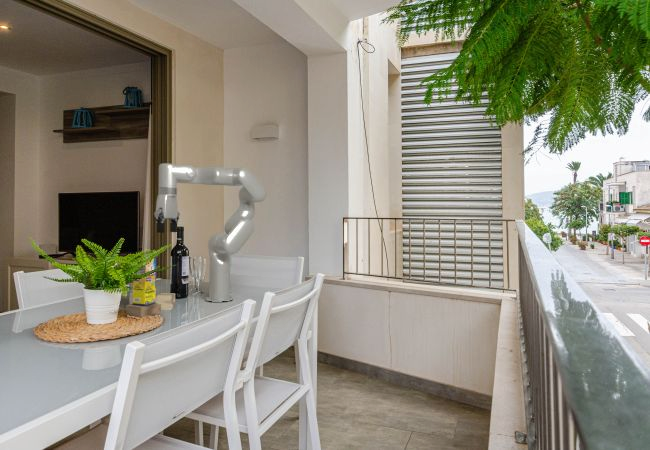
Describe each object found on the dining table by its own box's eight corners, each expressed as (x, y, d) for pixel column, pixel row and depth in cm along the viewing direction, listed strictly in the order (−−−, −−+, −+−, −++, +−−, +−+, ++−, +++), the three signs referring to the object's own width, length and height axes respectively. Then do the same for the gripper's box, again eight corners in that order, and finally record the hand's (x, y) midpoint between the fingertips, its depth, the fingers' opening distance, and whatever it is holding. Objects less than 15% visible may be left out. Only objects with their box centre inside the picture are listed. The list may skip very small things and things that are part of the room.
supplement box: (144, 306, 167) (145, 277, 167) (132, 305, 169) (132, 276, 169) (155, 303, 173) (155, 275, 173) (143, 302, 175) (143, 275, 175)
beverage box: (129, 309, 184) (129, 256, 184) (140, 304, 195) (141, 254, 195) (145, 309, 184) (145, 257, 184) (155, 304, 195) (156, 254, 195)
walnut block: (145, 313, 177) (145, 301, 177) (160, 316, 173) (160, 304, 173) (125, 317, 169) (125, 305, 169) (140, 321, 165) (141, 307, 165)
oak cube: (160, 307, 190) (161, 293, 190) (174, 307, 190) (175, 293, 190) (156, 309, 184) (156, 295, 184) (170, 310, 184) (170, 295, 184)
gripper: (171, 193, 198) (170, 231, 198) (147, 191, 181) (147, 232, 181) (186, 193, 196) (185, 232, 196) (163, 191, 179) (163, 233, 180)
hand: (167, 232), depth 189 cm, fingers open, 9 cm apart
